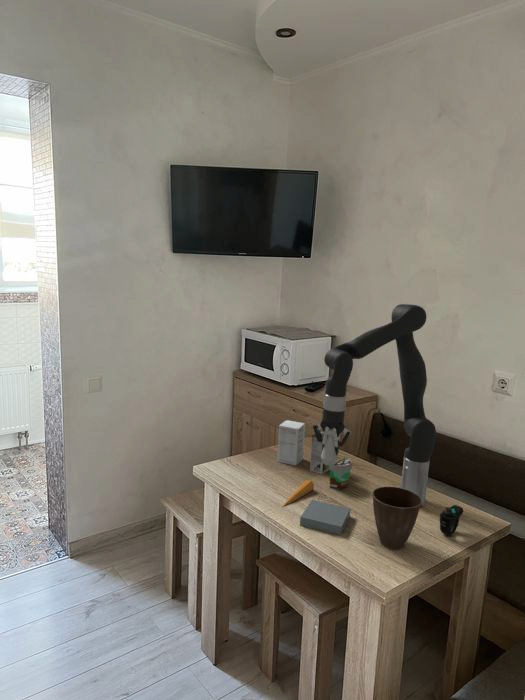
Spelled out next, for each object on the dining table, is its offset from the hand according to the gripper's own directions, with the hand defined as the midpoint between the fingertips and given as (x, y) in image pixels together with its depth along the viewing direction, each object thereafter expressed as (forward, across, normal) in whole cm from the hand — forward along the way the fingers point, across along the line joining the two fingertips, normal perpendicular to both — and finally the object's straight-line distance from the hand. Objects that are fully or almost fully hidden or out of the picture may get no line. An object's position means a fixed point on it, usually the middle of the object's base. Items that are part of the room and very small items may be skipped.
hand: (329, 454), depth 177 cm
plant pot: (+22, -25, +9) cm, 34 cm away
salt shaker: (+3, 0, 0) cm, 3 cm away
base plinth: (+22, -2, +6) cm, 22 cm away
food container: (+22, 0, -24) cm, 33 cm away
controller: (+21, -42, -7) cm, 47 cm away
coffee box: (+22, +12, -36) cm, 44 cm away
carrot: (+22, +13, -6) cm, 26 cm away
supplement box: (+22, +27, -39) cm, 52 cm away
